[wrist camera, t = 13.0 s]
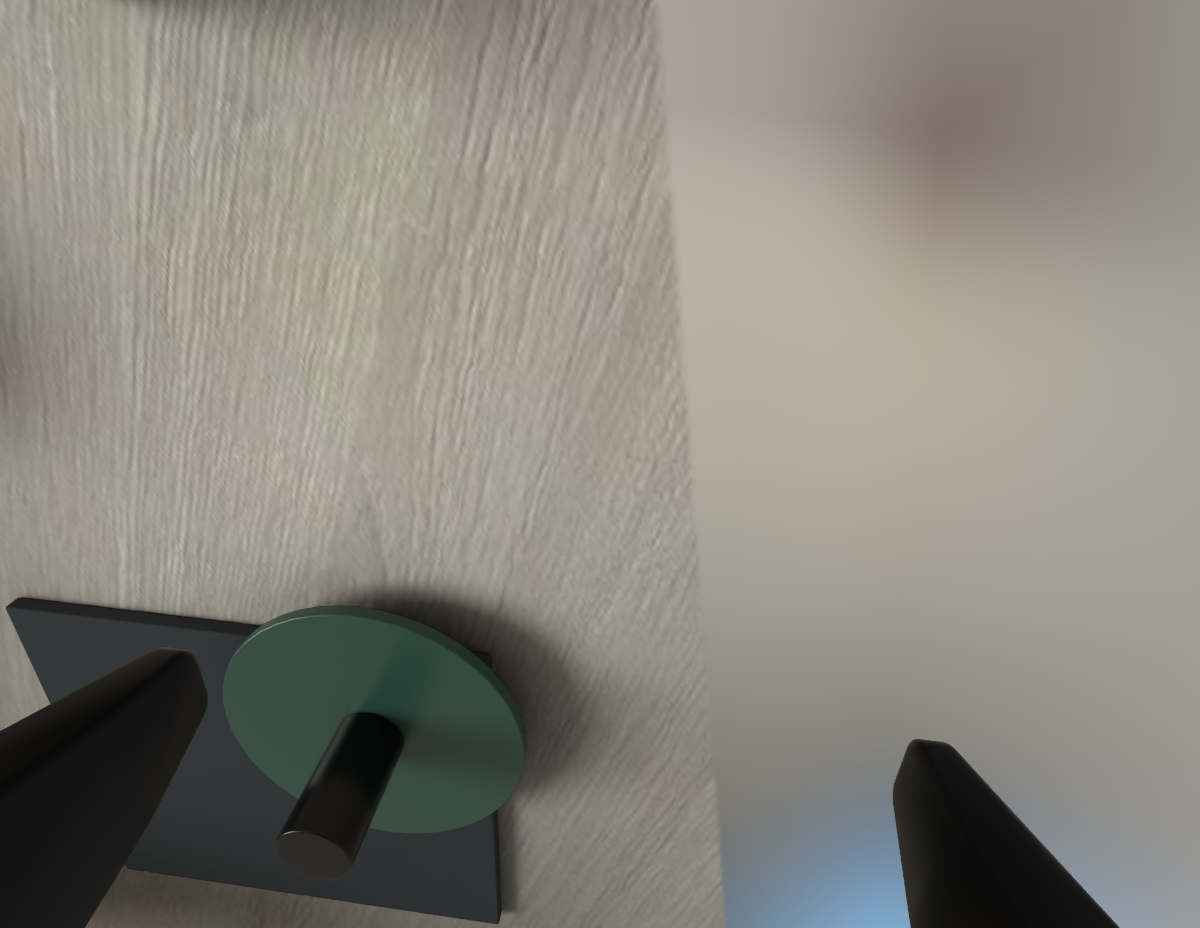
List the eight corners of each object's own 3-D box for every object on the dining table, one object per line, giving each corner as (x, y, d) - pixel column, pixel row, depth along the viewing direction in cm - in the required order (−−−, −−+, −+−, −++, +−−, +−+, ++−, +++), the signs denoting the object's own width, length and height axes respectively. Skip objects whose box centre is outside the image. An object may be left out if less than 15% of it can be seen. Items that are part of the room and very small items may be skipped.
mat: (491, 652, 25) (487, 665, 24) (501, 911, 32) (498, 925, 32) (17, 596, 26) (4, 607, 26) (135, 857, 34) (126, 869, 33)
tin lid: (529, 612, 23) (485, 756, 18) (531, 825, 28) (497, 981, 23) (209, 576, 24) (84, 704, 19) (269, 789, 29) (183, 932, 24)
